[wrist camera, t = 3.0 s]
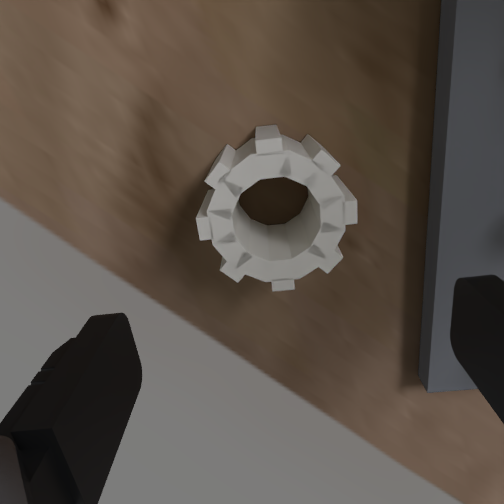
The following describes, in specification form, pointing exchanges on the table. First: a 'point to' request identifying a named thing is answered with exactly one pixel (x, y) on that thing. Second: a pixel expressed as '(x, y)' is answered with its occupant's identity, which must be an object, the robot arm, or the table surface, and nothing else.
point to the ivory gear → (280, 235)
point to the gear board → (463, 177)
